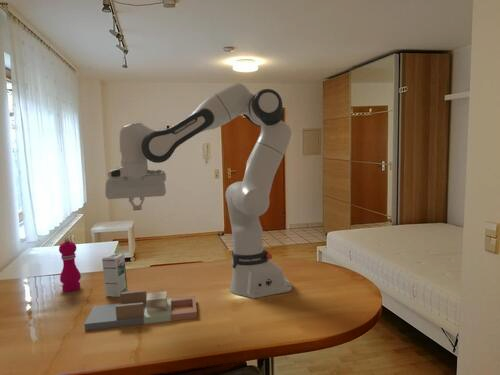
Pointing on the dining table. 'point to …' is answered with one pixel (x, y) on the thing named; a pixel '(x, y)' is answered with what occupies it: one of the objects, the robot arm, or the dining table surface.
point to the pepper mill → (69, 267)
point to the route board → (137, 311)
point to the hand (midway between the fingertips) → (137, 210)
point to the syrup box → (114, 274)
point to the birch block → (156, 301)
